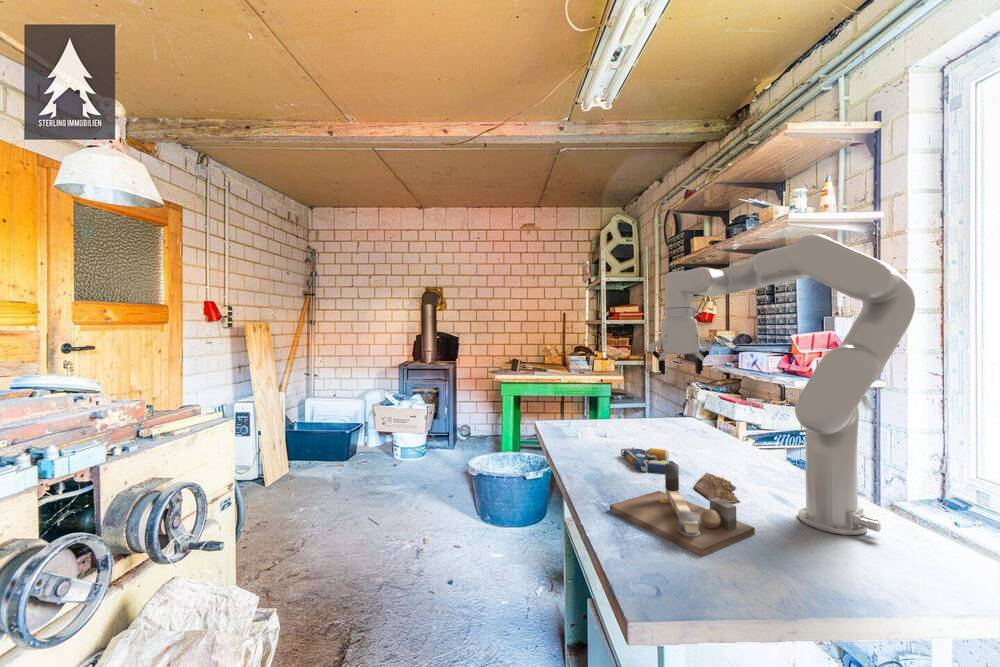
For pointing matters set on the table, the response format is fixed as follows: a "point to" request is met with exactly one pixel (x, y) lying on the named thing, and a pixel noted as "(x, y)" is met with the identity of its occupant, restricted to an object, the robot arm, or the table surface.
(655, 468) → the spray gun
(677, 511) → the lever
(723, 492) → the wooden fragment
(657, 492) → the press board
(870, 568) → the table surface
